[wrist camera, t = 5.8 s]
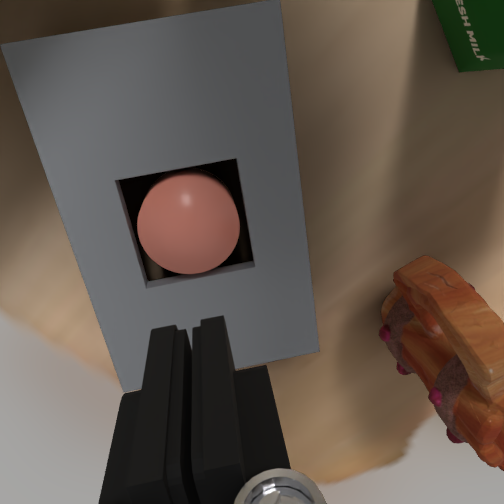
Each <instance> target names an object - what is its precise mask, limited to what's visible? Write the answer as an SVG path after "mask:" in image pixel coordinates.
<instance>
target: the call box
mask: <svg viewBox="0 0 504 504" xmlns="http://www.w3.org/2000/svg"><path fill="white" fill-rule="evenodd" d="M0 47H1V50H2V53H3V55H4V58H5V61H6V64H7V67H8V69H9V72H10V75H11V78H12V81H13V83H14V86H15V89H16V92H17V95H18V98H19V100H20V103H21V106H22V109H23V112H24V114H25V117H26V120H27V123H28V126H29V128H30V131H31V134H32V137H33V140H34V142H35V145H36V148H37V151H38V154H39V156H40V159H41V162H42V165H43V168H44V171H45V173H46V176H47V179H48V182H49V185H50V187H51V190H52V193H53V196H54V199H55V201H56V204H57V207H58V210H59V213H60V215H61V218H62V221H63V224H64V227H65V229H66V232H67V235H68V238H69V241H70V244H71V246H72V249H73V252H74V255H75V258H76V260H77V263H78V266H79V269H80V272H81V274H82V277H83V280H84V283H85V286H86V288H87V291H88V294H89V297H90V300H91V302H92V305H93V308H94V311H95V314H96V317H97V319H98V322H99V325H100V328H101V331H102V333H103V336H104V339H105V342H106V345H107V347H108V350H109V353H110V356H111V359H112V361H113V364H114V367H115V370H116V373H117V375H118V378H119V381H120V384H121V387H122V389H123V392H128V391H133V390H137V389H142V382H143V376H144V370H145V364H146V358H147V351H148V345H149V339H150V333H151V330H152V329H154V328H160V327H165V326H170V325H176V326H177V328H178V330H182V329H186V331H187V334H188V337H189V341H190V345H191V349H192V328H193V327H198V326H200V321H201V319H206V318H211V317H216V316H222V315H224V318H225V322H226V327H227V332H228V337H229V341H230V346H231V351H232V356H233V361H234V365H235V369H238V368H243V367H248V366H252V365H257V364H262V363H267V362H272V361H276V360H281V359H286V358H291V357H296V356H300V355H305V354H310V353H315V352H320V350H319V341H318V332H317V323H316V314H315V306H314V297H313V288H312V279H311V270H310V261H309V252H308V243H307V235H306V226H305V217H304V208H303V199H302V190H301V181H300V172H299V163H298V155H297V146H296V137H295V128H294V119H293V110H292V101H291V92H290V84H289V75H288V66H287V57H286V48H285V39H284V30H283V21H282V13H281V4H280V0H267V1H261V2H255V3H249V4H243V5H237V6H231V7H225V8H218V9H212V10H206V11H200V12H194V13H188V14H182V15H176V16H170V17H164V18H157V19H151V20H145V21H139V22H133V23H127V24H121V25H115V26H109V27H102V28H96V29H90V30H84V31H78V32H72V33H66V34H60V35H54V36H48V37H41V38H35V39H29V40H23V41H17V42H11V43H5V44H0ZM235 158H236V162H237V168H238V173H239V179H240V185H241V191H242V197H243V203H244V208H245V214H246V220H247V226H248V232H249V238H250V243H251V249H252V255H253V261H250V262H245V263H240V264H235V265H230V266H224V267H219V268H214V269H211V270H208V271H206V272H202V273H196V274H184V275H178V276H173V277H168V278H163V279H158V280H153V281H148V280H147V277H146V274H145V270H144V267H143V263H142V260H141V256H140V253H139V249H138V246H137V242H136V239H135V235H134V232H133V228H132V225H131V221H130V218H129V214H128V211H127V208H126V204H125V201H124V197H123V194H122V190H121V187H120V183H119V180H120V179H125V178H131V177H136V176H142V175H147V174H153V173H158V172H164V171H169V170H175V169H180V168H186V167H191V166H197V165H202V164H208V163H213V162H218V161H224V160H229V159H235Z"/></svg>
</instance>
